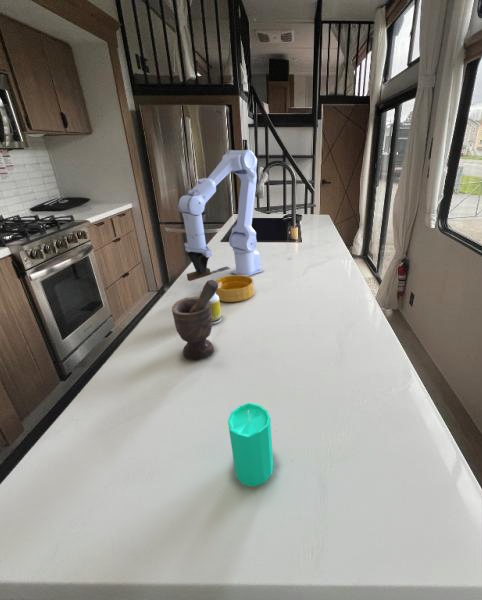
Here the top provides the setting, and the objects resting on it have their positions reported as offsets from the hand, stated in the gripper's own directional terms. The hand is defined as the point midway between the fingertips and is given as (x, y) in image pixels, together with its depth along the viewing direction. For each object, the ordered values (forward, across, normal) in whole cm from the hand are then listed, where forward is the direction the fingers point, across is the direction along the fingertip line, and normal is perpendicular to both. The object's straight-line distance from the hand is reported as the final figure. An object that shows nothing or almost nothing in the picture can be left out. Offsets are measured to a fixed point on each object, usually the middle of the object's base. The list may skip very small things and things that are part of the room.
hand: (201, 272), depth 112 cm
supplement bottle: (+6, +22, -10) cm, 25 cm away
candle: (+6, +68, -31) cm, 75 cm away
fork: (+1, 0, +3) cm, 3 cm away
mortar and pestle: (+6, +35, -20) cm, 41 cm away
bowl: (+6, +12, +5) cm, 14 cm away
